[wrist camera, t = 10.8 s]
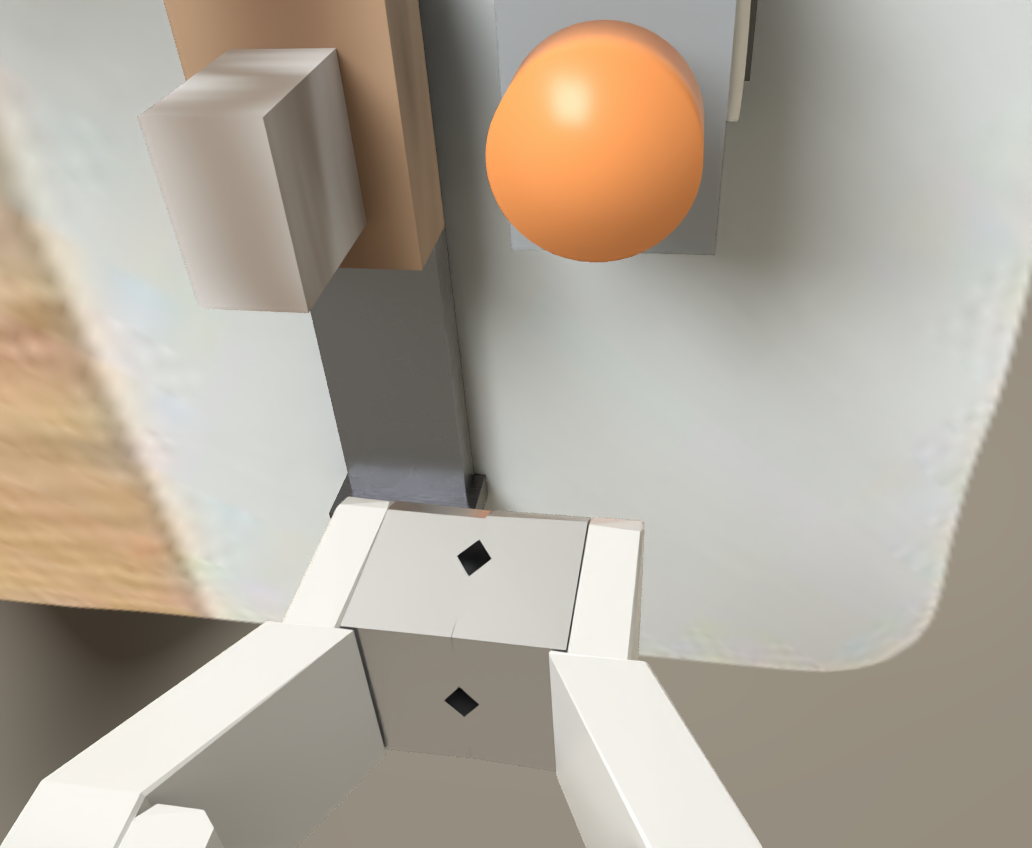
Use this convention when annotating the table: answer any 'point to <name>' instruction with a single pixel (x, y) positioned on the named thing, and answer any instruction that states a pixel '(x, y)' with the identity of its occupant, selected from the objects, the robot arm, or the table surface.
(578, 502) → the table surface
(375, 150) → the carriage
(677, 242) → the cabinet
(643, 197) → the button
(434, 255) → the rail
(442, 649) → the robot arm
